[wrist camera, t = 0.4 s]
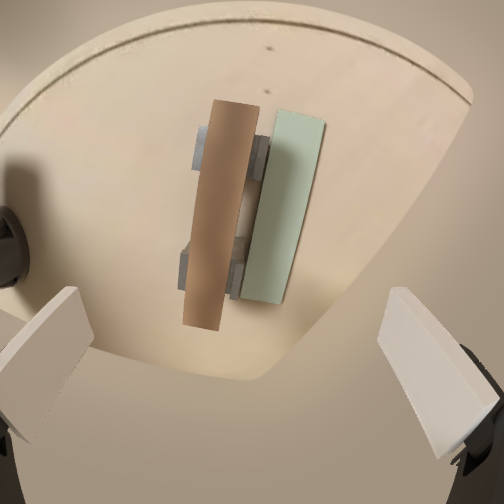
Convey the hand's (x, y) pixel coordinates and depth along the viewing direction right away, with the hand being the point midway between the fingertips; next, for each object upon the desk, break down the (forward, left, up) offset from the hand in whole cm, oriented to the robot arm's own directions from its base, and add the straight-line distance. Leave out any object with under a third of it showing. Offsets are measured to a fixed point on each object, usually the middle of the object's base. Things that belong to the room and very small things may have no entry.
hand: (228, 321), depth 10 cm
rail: (-2, 0, -16) cm, 16 cm away
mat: (+4, 0, -23) cm, 24 cm away
